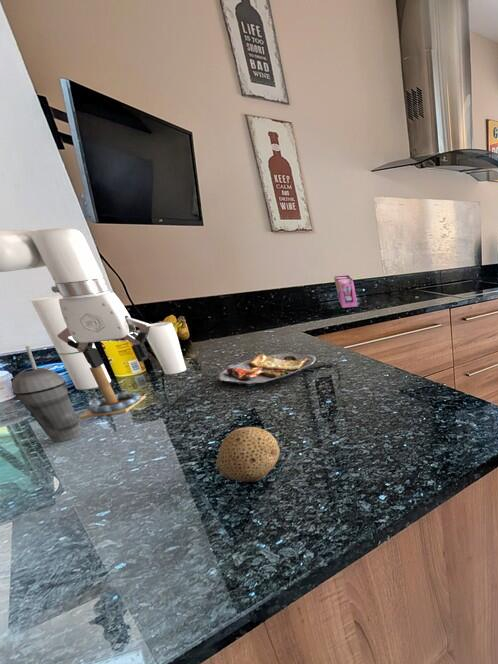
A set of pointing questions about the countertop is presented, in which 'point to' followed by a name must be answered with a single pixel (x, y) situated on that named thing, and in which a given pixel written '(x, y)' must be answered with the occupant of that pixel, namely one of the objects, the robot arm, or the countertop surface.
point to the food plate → (266, 368)
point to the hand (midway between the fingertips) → (121, 362)
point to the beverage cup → (47, 401)
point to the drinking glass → (166, 347)
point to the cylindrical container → (70, 356)
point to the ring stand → (106, 394)
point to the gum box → (345, 291)
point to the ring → (134, 399)
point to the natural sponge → (247, 454)
